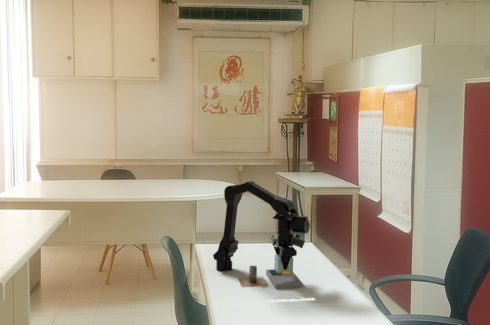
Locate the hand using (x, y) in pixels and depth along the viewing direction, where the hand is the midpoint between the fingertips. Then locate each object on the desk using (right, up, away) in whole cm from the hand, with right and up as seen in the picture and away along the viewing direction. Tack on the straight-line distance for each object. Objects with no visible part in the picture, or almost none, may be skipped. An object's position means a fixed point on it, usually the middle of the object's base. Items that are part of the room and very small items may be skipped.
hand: (283, 267), depth 207 cm
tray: (0, -7, +1) cm, 7 cm away
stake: (-13, -7, -2) cm, 15 cm away
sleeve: (0, -2, 0) cm, 2 cm away
